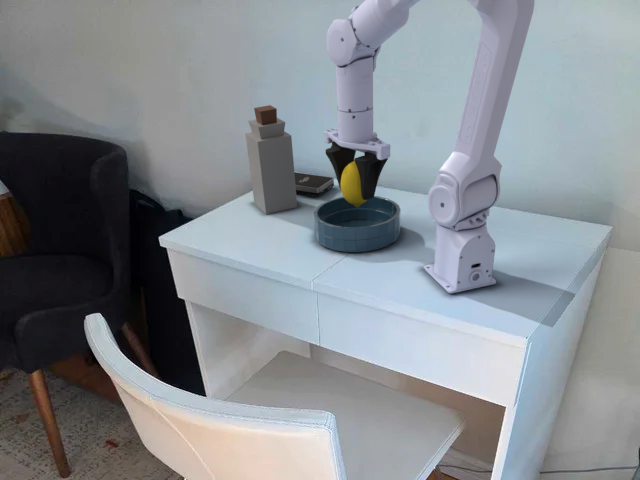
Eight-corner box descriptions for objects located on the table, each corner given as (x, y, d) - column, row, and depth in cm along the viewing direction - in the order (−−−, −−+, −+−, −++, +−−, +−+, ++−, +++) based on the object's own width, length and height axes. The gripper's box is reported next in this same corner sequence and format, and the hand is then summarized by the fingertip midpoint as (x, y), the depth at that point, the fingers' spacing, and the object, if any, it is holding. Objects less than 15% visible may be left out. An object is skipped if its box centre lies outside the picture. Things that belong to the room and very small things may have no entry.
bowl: (413, 243, 106) (414, 218, 103) (330, 260, 103) (329, 234, 100) (380, 213, 117) (380, 189, 114) (305, 227, 114) (303, 203, 111)
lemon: (361, 215, 104) (360, 167, 99) (335, 209, 107) (333, 162, 101) (379, 204, 107) (379, 157, 102) (353, 199, 110) (352, 152, 105)
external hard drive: (318, 198, 125) (317, 188, 124) (274, 191, 130) (273, 181, 128) (335, 187, 129) (334, 177, 128) (291, 180, 134) (291, 171, 133)
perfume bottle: (254, 203, 125) (242, 107, 113) (284, 196, 127) (275, 101, 115) (266, 214, 120) (254, 115, 109) (297, 207, 122) (289, 109, 111)
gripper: (405, 109, 94) (403, 198, 102) (345, 96, 103) (348, 178, 112) (371, 119, 91) (371, 209, 99) (312, 104, 100) (317, 188, 109)
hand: (357, 193), depth 105 cm, fingers closed on lemon, 5 cm apart
